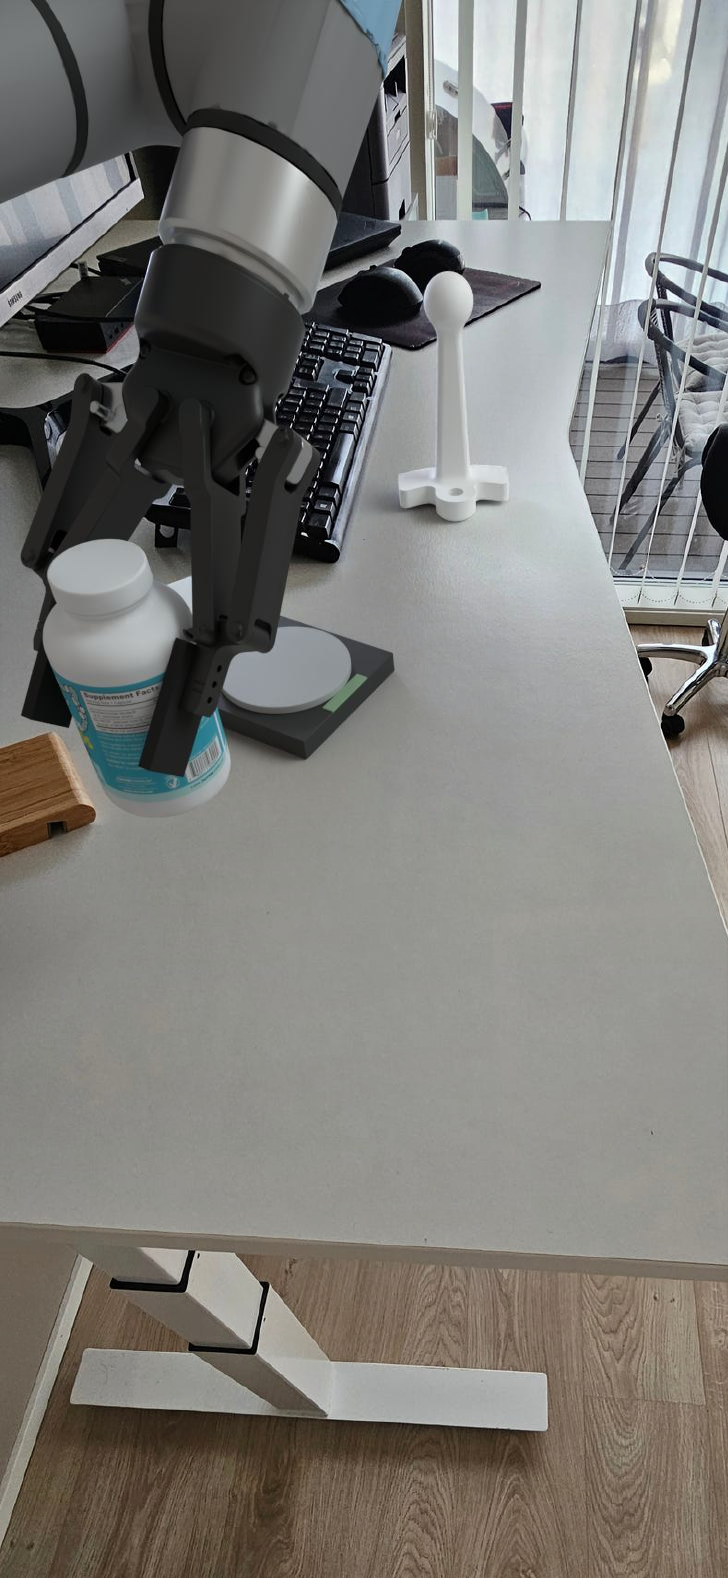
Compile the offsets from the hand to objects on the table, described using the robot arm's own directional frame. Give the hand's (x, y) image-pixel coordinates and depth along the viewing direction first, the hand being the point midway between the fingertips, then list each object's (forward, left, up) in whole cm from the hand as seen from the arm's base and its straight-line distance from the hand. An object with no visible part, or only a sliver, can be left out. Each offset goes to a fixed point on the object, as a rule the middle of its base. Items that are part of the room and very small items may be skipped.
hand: (102, 745), depth 51 cm
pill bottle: (0, +3, -5) cm, 6 cm away
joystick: (-14, +60, -18) cm, 64 cm away
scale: (-11, +27, -18) cm, 34 cm away
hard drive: (-25, +31, -18) cm, 44 cm away
